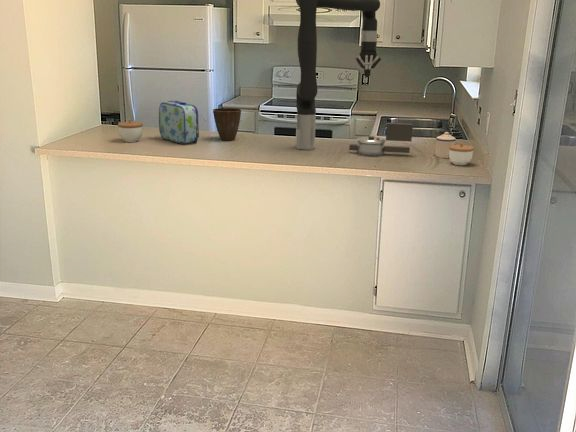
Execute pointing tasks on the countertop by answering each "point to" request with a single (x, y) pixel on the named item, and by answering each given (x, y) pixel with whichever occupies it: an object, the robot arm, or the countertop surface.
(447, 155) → the beige canister
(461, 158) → the lidded jar
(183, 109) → the lunch box
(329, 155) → the countertop surface
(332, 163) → the countertop surface
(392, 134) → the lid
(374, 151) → the pot
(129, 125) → the lidded bowl
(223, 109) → the plant pot
